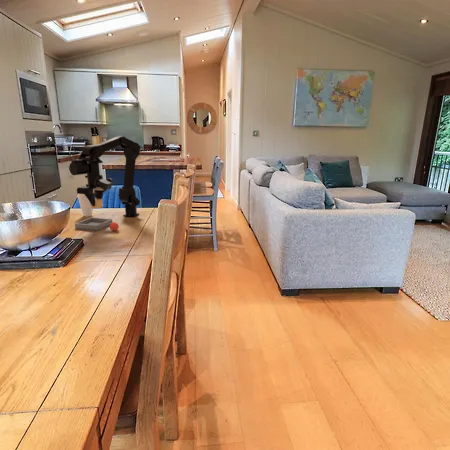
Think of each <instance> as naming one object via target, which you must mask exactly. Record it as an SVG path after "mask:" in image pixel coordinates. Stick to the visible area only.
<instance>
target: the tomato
mask: <svg viewBox="0 0 450 450" xmlns="http://www.w3.org/2000/svg"><path fill="white" fill-rule="evenodd" d="M119 227H120V226H119V223H118V222H113V221H112V223H111V224H110V226H109V229H110V230H111V231H113V232H115V231H118V229H119Z"/></svg>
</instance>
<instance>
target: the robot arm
mask: <svg viewBox="0 0 450 450" xmlns="http://www.w3.org/2000/svg"><path fill="white" fill-rule="evenodd" d="M117 147H120V148H121V149H122V150H123V155H124V157H125V165H124V166H125V167H124V176H123V177H124V179H123V186H122V187H121V188H119V189H118V195H117V196H118V199H119V200H120V202H121V204H122V205H125V206H124V210H125V211H124V212H125V214H123V215H122V216H123V217H130V218H135V217H137V216H138V215H140V213H139V212H138V211H137V207H138V206H139V205H140V203H141V201H140V199H138V197H137V196H136V193H137V192H136V190H135V188H134V183H135V181H134V180H135V173H136V172H135V171H136V169H135V168H136V160H137V159H138V158H139V156H140V151H141V146H140V144H139V143H138V142H134V141H133V140H131V139H129V138H127V137H125V136H123V135H116V136H115V137H113V138H110V139H107V140H104V141H102V142H99V143H98V144H96V143H95V144H89V145H85V146H83V147H82V151H81V153H80V155H79V157H78V159H70V160H71V162H70V164H69V167H68V170H69V172H70V174H71V175H72V176H80V175H81V176H82V175H84V176H85V179H86V180H87V183H86V184H85V186H78V187H77V188H76V194H84V195H85V196H86V197H87V199H88V200H89V202H90V203H91V205H92V206H95V198H97V199H102V200H103V196H104V194H105V192H107V191H108V190H110V189H112V186H114V180H113V178H111V177H108V178H103V175H102V174H101V172H100V171H101V170H100V164H103V163H104V161H103V160H101V158H100V157H103V155H104V153H105V152H107V151H110V150H112V149H114V148H117Z"/></svg>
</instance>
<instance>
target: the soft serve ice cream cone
mask: <svg viewBox="0 0 450 450" xmlns="http://www.w3.org/2000/svg"><path fill="white" fill-rule="evenodd" d="M76 194H77V193H76ZM76 197H77V199H78V201H79V207H80V210H81V213H82V216H83V217H88V218H89V217H93V209H94V208H91V206H90V202H89V200H88V199H87V197H86V196H85V195H84V194H77V195H76Z"/></svg>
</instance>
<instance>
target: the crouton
mask: <svg viewBox="0 0 450 450" xmlns="http://www.w3.org/2000/svg"><path fill="white" fill-rule="evenodd" d="M103 205H104V203H103V198H102V199H97V198H96V197H95V206H92V205H91V203H90V206H91V208H93V209H96V210H97V209H100V208H101V209H102V208H103V207H104V206H103Z"/></svg>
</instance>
